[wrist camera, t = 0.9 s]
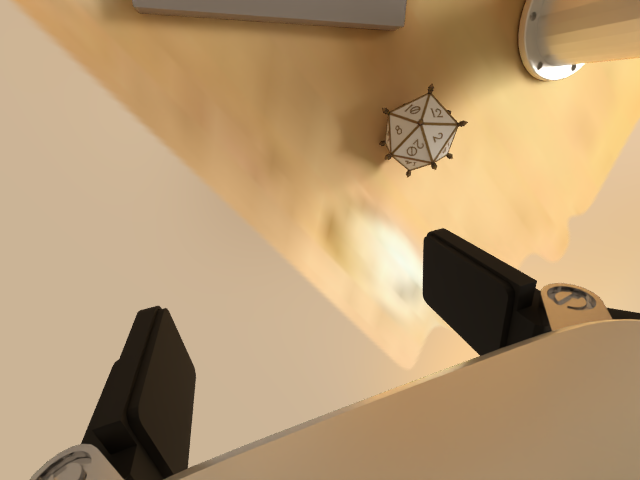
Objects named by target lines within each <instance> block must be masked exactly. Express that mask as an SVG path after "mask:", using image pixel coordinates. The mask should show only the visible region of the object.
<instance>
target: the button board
mask: <svg viewBox="0 0 640 480" xmlns="http://www.w3.org/2000/svg"><path fill="white" fill-rule="evenodd" d="M406 1H407V0H132V3H133V7H134V8H135V9H136V10H137V11H138V12H139V13H145V14H160V15H174V16H189V17H203V18H218V19H233V20H247V21H262V22H276V23H291V24H305V25H320V26H334V27H349V28H363V29H378V30H392V31H394V30H397V29H399V28H402V27H404V22H405V11H406Z"/></svg>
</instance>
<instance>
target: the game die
mask: <svg viewBox="0 0 640 480" xmlns="http://www.w3.org/2000/svg"><path fill="white" fill-rule="evenodd" d="M428 88H429V89H428V93H427V94H425V95H423V96H421V97H419V98H417V99H415V100H413V101H411V102H409V103H407V104H404V105H403V106H401V107H399V108H397V109H395V110H393V111H391V112H389V110H387V108H382V110H383V113H385V114H388V120H387V129H386V138H385V141H381V143H380V144H379V145H381V146H383V145H385V144H386V146H387V148H388V150H389V153H390V154H388V155H386V157H385V159H388V160H389V159H391V157H393V158H394V159H395V160H397V161H398V162H399V163H400V164H401V165H403V166H404V167H405V168H406V169H407V170H408V171H407V172H406V173H407V174H406V175H407V178H408V177H409V176H410V175H411V170H415V169H418V168H421V167H424V166H427V165H431V167H432V169H435V170H436V168H437V164H436V163H435V162H437V161H438V160H440V159H441V158H443V157H445V156H447V158H449V159H453V157H452V154H451V153H450V154H449V153H448V152H449V149H450V147H451V144H452V142H453V139H454V136H455V134H456V131H457V129H458V127H459V126H461V127H462V126H464V125H465V124H467V123H468V122H466V121H461V122H459V123H458V122H457V121H456V120H455V119H454V118H453V117H452V116H451V115H450V114H451V111H449V110H446V109H445V108H444V107H443V106H442V105H441V104H440V102H439V101H438V100H437V99H436V98H435V97H434V96H433V95H432V91H433V88H434V87H433V84H431V85H430V86H429V87H428Z"/></svg>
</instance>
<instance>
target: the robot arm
mask: <svg viewBox="0 0 640 480" xmlns="http://www.w3.org/2000/svg"><path fill="white" fill-rule="evenodd" d="M519 51H520V56H521V59H522V62H523V65H524V66H525V68H526V69H527V71H528V72H529V73H530V74H531V75H532V76H533V77H535V78H537V79H539V80H544V81H554V80H560V79H564V78H566V77H568V76H570V75H572V74H573V73H575V72H576V71H577V70H579V69H580V68H581V67H582V66H583V65H584V64H585V63H594V62H604V61H614V60H623V59H633V58H640V0H526V3H525V6H524V8H523V12H522V16H521V20H520V26H519ZM536 283H537V281H536V280H535V279H533V278H531V277H529V276H528V275H526V274H524V273H522V272H520V271H519V270H517V269H515V268H513V267H512V266H510V265H508V264H506V263H505V262H503V261H501V260H499V259H498V258H496V257H494V256H492V255H490V254H489V253H487V252H485V251H483V250H482V249H480V248H478V247H476V246H475V245H473V244H471V243H469V242H467V241H466V240H464V239H462V238H460V237H459V236H457V235H455V234H453V233H452V232H450V231H448V230H446V229H444V228H443V229H438V230H435V231H431V232H429V233H428V234H427V237H425V238H424V249H423V298H424V300H425V302H426V303H427V304H428V305H429V306H430V307H431V308H432V309H433V310H434V311H435V312H436V313H437V314H438V315H439V316H440V317H441V318H442V319H443V320H444V321H445V322H446V323H447V324H448V325H449V326H450V327H451V328H452V329H454V330H455V331H456V332H457V333H458V334H459V335H460V336H461V337H462V338H463V339H464V340H465V341H466V342H467V343H468V344H469V345H470V346H471V347H472V348H473V349H474V350H475V351H476V352H477V353H478V354H479V355H480V356H479V357H476V358H474V359H471V360H468V361H466V362H463V363H461V364H458V365H455V366H452V367H450V368H447V369H444V370H441V371H439V372H436V373H433V374H431V375H428V376H425V377H423V378H420V379H418V380H415V381H412V382H409V383H407V384H404V385H401V386H399V387H396V388H394V389H391V390H388V391H385V392H383V393H380V394H378V395H375V396H373V397H370V398H367V399H364V400H362V401H359V402H357V403H354V404H351V405H349V406H346V407H343V408H341V409H338V410H335V411H333V412H330V413H328V414H325V415H323V416H320V417H317V418H315V419H312V420H309V421H307V422H304V423H302V424H299V425H297V426H294V427H291V428H289V429H286V430H283V431H281V432H278V433H275V434H273V435H270V436H268V437H265V438H263V439H260V440H257V441H255V442H252V443H250V444H247V445H245V446H242V447H240V448H237V449H235V450H232V451H230V452H227V453H225V454H222V455H220V456H217V457H215V458H212V459H210V460H207V461H205V462H202V463H200V464H198V465H195V466H193V467H190V468H188V458H189V447H190V435H191V424H192V414H193V403H194V402H193V401H194V391H195V380H196V373H195V368H194V366H193V363H192V361H191V359H190V357H189V354H188V352H187V350H186V348H185V346H184V343H183V342H182V339H181V337H180V335H179V332H178V330H177V328H176V326H175V324H174V321H173V319H172V317H171V315H170V313H169V311H168V310H167V309H166V308H165V309H161V307H160V306H155V307H151V308H148V309H144V310H140V311H139V312H138V313H137V315H136V318H135V321H134V323H133V326H132V329H131V331H130V333H129V336H128V338H127V341H126V344H125V346H124V348H123V351H122V354H121V356H120V359H119V360H118V361H116V362H115V363H114V365H113V367H112V369H111V372H110V374H109V377H108V379H107V381H106V384H105V387H104V389H103V391H102V394H101V397H100V399H99V401H98V404H97V406H96V409H95V411H94V413H93V416H92V418H91V421H90V423H89V426H88V428H87V430H86V433H85V436H84V438H83V440H82V443H81V444H80V445H76V446H73V447H70V448H68V449H66V450H64V451H62V452H60V453H59V454H57V455H56V456H55V457H53V458H52V459H50V460H49V461H47V462H46V463H45V464H44V465H43V466H42V467H41V468H40V469H39V470H38V471H37V472H36V473H35V474H34V475H33V476H32V477H31V479H30V480H640V313H635V312H630V311H623V310H617V309H610V308H606V306H605V305H604V303H603V301H602V300H601V299H600V297H598V296H597V295H596V294H594V293H593V292H591V291H589V290H587V289H585V288H582V287H579V286H576V285H571V284H565V283H554V284H548V285H546V286H544V287H543V288H542V289H541V291H539V290H538V289H536V288H535V287H536Z"/></svg>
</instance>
